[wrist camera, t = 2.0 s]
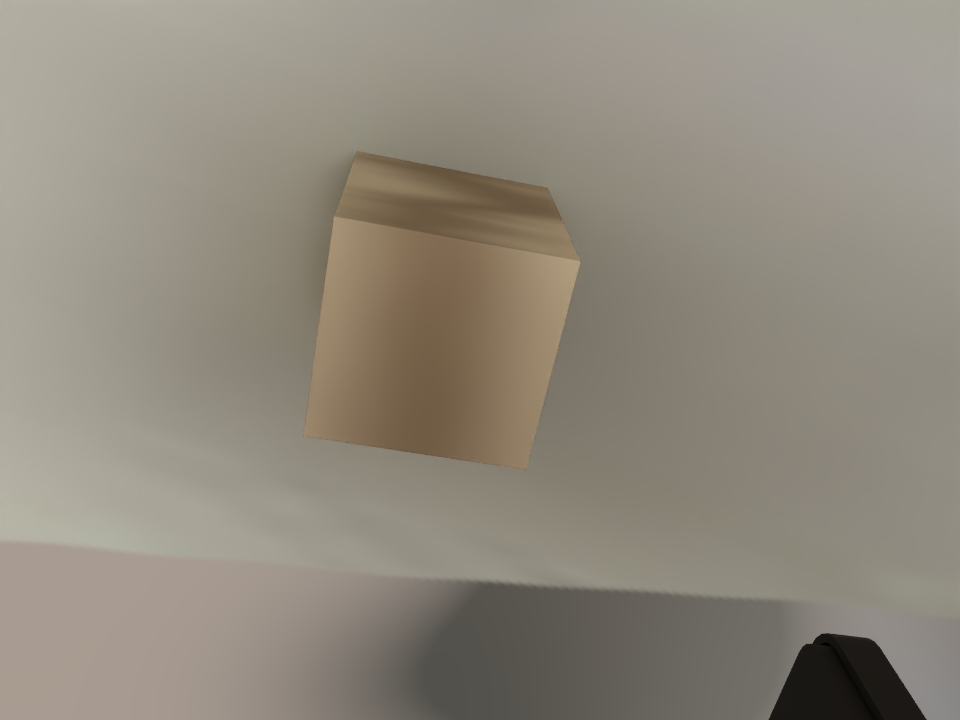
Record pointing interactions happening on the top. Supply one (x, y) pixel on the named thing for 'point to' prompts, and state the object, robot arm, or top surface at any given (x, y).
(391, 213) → the maple block
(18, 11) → the top surface
